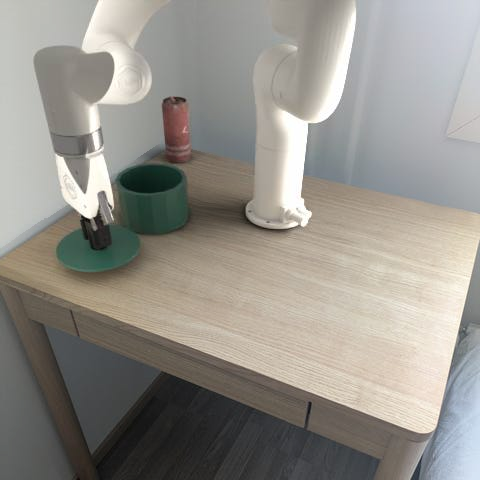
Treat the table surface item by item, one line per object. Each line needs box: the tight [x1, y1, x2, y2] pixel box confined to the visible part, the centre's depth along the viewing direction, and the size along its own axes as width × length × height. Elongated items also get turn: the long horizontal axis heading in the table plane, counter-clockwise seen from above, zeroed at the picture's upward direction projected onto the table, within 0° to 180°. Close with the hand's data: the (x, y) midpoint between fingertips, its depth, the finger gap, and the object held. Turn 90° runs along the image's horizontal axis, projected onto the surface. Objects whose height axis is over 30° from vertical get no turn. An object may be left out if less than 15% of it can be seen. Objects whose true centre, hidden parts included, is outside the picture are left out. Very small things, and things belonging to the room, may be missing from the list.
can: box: [161, 96, 192, 164], centre depth 118 cm, size 6×6×14 cm
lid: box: [55, 215, 141, 273], centre depth 86 cm, size 15×15×7 cm
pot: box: [114, 162, 190, 235], centre depth 99 cm, size 14×14×8 cm
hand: (97, 240), depth 87 cm, fingers closed on lid, 3 cm apart
